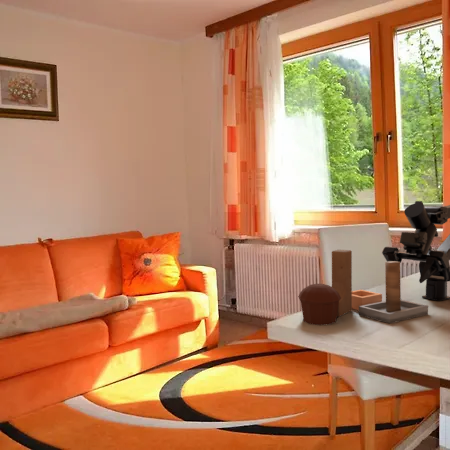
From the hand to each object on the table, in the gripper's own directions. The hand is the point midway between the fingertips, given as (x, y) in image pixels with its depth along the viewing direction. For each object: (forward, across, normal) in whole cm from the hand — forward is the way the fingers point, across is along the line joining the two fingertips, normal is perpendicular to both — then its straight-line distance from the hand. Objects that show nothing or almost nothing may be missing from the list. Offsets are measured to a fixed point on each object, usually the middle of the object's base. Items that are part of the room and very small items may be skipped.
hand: (404, 280), depth 149 cm
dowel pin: (+10, 0, +1) cm, 10 cm away
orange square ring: (+9, -12, +3) cm, 15 cm away
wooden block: (+17, -12, -5) cm, 22 cm away
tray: (+11, 0, +1) cm, 11 cm away
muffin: (+25, -12, -12) cm, 30 cm away
